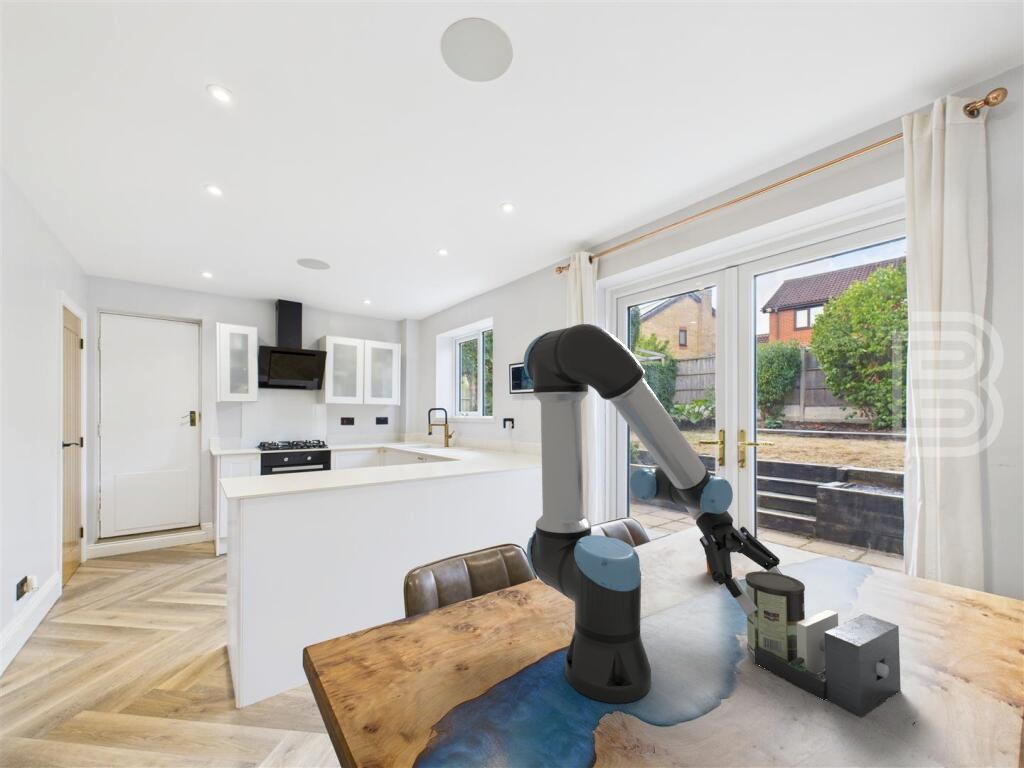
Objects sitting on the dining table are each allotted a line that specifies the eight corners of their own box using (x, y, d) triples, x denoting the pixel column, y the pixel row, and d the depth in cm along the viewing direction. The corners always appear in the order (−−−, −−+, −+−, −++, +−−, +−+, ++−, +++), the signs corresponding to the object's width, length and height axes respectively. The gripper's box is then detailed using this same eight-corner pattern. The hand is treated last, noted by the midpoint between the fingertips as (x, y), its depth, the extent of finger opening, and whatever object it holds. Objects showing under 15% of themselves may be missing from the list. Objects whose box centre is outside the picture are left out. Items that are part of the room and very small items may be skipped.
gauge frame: (754, 663, 84) (753, 604, 85) (797, 644, 92) (796, 589, 92) (859, 719, 70) (857, 647, 70) (900, 690, 77) (898, 625, 77)
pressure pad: (788, 678, 78) (787, 626, 79) (829, 657, 85) (828, 609, 85) (861, 717, 69) (859, 657, 69) (901, 689, 75) (899, 635, 76)
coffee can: (793, 641, 93) (791, 572, 93) (816, 670, 82) (814, 593, 83) (739, 636, 95) (738, 568, 95) (756, 663, 85) (754, 588, 85)
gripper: (732, 516, 112) (794, 601, 98) (661, 528, 100) (721, 626, 86) (752, 500, 108) (820, 586, 94) (681, 510, 96) (746, 610, 82)
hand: (773, 605), depth 90 cm, fingers open, 13 cm apart
